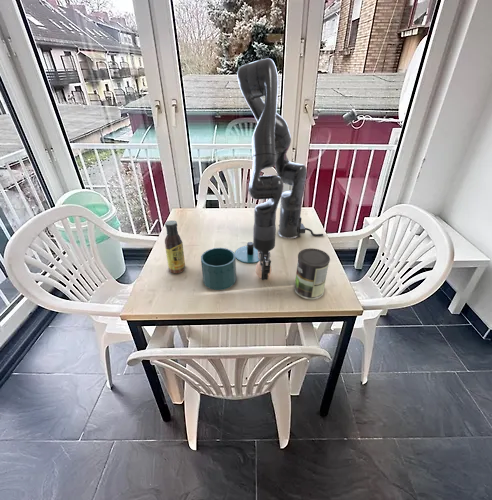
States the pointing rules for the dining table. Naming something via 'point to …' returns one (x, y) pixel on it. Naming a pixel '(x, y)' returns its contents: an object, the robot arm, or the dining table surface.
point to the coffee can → (311, 273)
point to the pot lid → (247, 254)
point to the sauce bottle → (174, 248)
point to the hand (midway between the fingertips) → (263, 273)
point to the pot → (218, 268)
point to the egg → (258, 270)
